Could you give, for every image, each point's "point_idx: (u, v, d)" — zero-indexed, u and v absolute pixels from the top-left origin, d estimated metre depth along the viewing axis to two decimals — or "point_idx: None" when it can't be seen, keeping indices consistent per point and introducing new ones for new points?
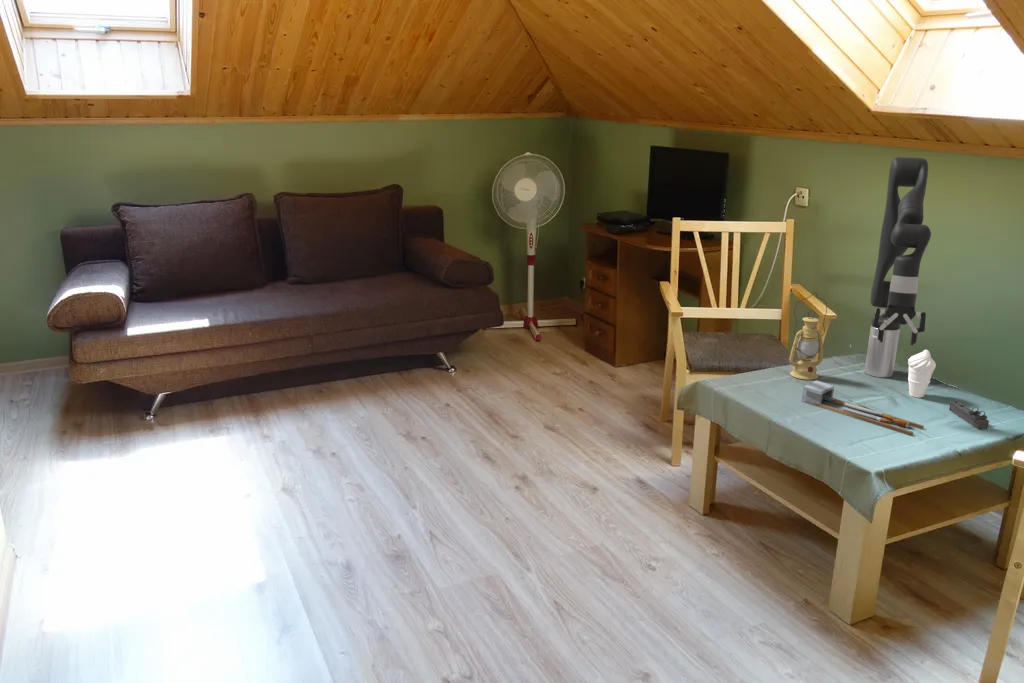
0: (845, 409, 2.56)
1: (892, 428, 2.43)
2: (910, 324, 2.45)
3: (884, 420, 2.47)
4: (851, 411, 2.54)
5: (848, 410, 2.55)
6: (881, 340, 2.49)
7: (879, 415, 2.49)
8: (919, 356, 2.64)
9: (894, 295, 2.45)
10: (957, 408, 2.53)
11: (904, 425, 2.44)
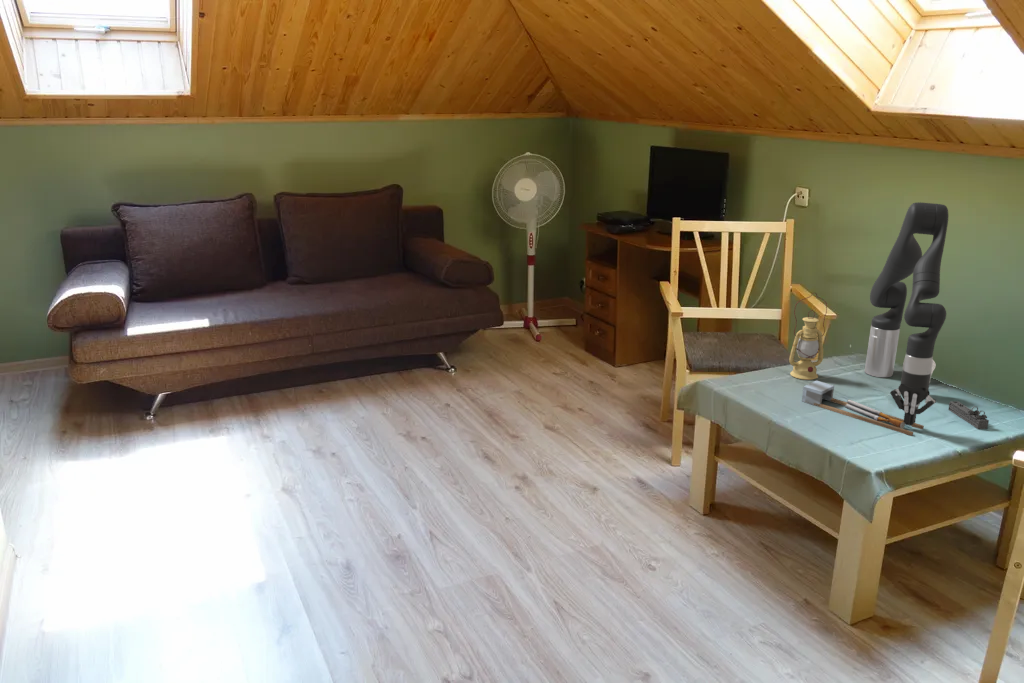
0: (847, 405, 2.58)
1: (892, 428, 2.43)
2: (912, 404, 2.39)
3: (881, 419, 2.48)
4: (852, 408, 2.56)
5: (850, 407, 2.57)
6: (906, 423, 2.42)
7: (877, 413, 2.49)
8: None
9: (903, 374, 2.38)
10: (956, 408, 2.53)
11: (898, 425, 2.43)
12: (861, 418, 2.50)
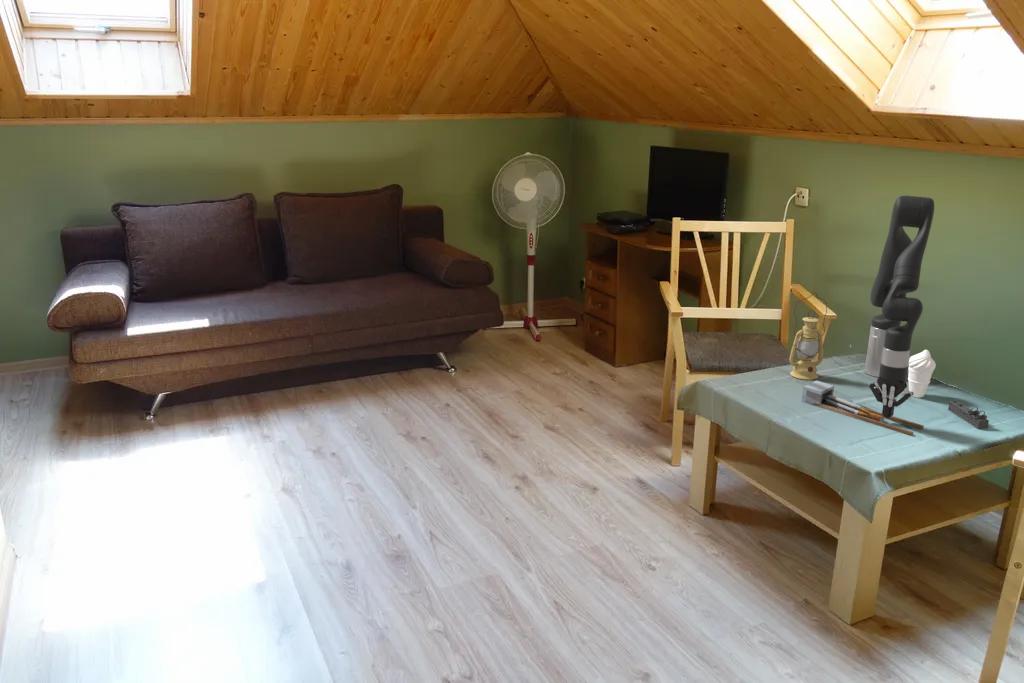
0: (828, 401, 2.62)
1: (892, 428, 2.43)
2: (890, 397, 2.44)
3: (861, 413, 2.52)
4: (833, 403, 2.60)
5: (831, 402, 2.61)
6: (884, 415, 2.47)
7: (857, 408, 2.53)
8: (919, 356, 2.64)
9: (881, 367, 2.43)
10: (956, 408, 2.53)
11: (878, 419, 2.47)
12: (861, 418, 2.50)
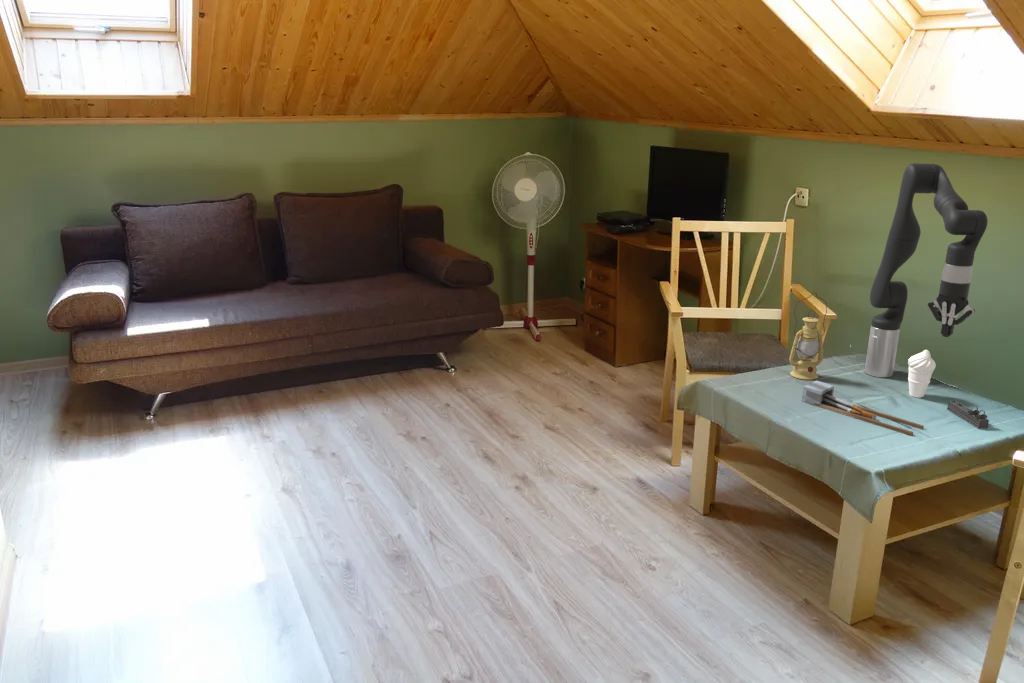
0: (822, 399, 2.64)
1: (892, 428, 2.43)
2: (950, 315, 2.37)
3: (853, 411, 2.54)
4: (827, 401, 2.62)
5: (825, 400, 2.63)
6: (943, 334, 2.40)
7: (850, 406, 2.55)
8: (919, 356, 2.64)
9: (942, 283, 2.36)
10: (955, 407, 2.53)
11: (870, 418, 2.49)
12: (861, 418, 2.50)
